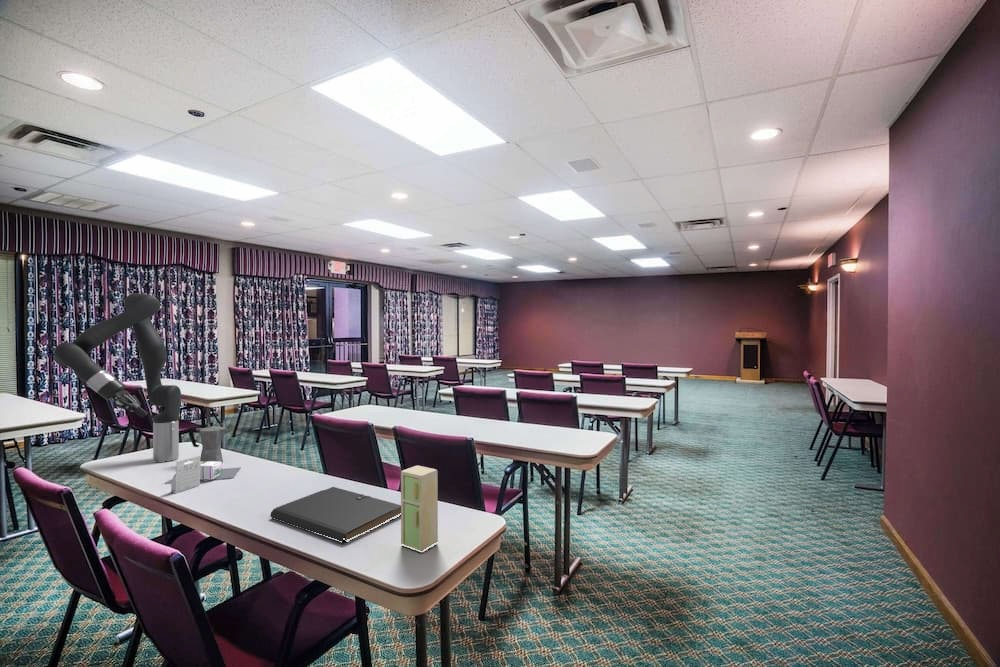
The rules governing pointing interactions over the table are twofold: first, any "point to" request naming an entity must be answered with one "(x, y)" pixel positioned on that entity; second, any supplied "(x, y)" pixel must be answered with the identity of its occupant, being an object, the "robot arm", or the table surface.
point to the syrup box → (208, 469)
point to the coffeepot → (209, 442)
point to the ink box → (186, 475)
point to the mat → (226, 473)
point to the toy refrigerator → (419, 507)
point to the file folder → (336, 513)
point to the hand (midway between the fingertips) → (145, 415)
